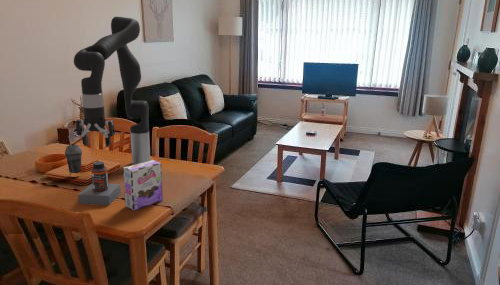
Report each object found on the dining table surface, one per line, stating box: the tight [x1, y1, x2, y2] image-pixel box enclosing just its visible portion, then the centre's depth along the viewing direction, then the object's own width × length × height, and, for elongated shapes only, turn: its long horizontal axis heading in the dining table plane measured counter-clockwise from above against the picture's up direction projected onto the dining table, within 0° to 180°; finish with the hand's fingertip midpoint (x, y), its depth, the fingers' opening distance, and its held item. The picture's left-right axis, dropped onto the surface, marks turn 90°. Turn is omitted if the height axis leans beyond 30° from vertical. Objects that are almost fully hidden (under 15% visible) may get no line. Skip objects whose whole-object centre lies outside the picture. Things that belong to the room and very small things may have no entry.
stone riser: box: [77, 183, 122, 206], centre depth 148 cm, size 12×12×4 cm
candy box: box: [122, 159, 164, 211], centre depth 143 cm, size 14×6×16 cm, turn 139°
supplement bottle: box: [90, 161, 109, 191], centre depth 146 cm, size 6×6×11 cm
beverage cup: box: [64, 135, 83, 173], centre depth 169 cm, size 7×7×20 cm
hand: (97, 145), depth 143 cm, fingers open, 8 cm apart
